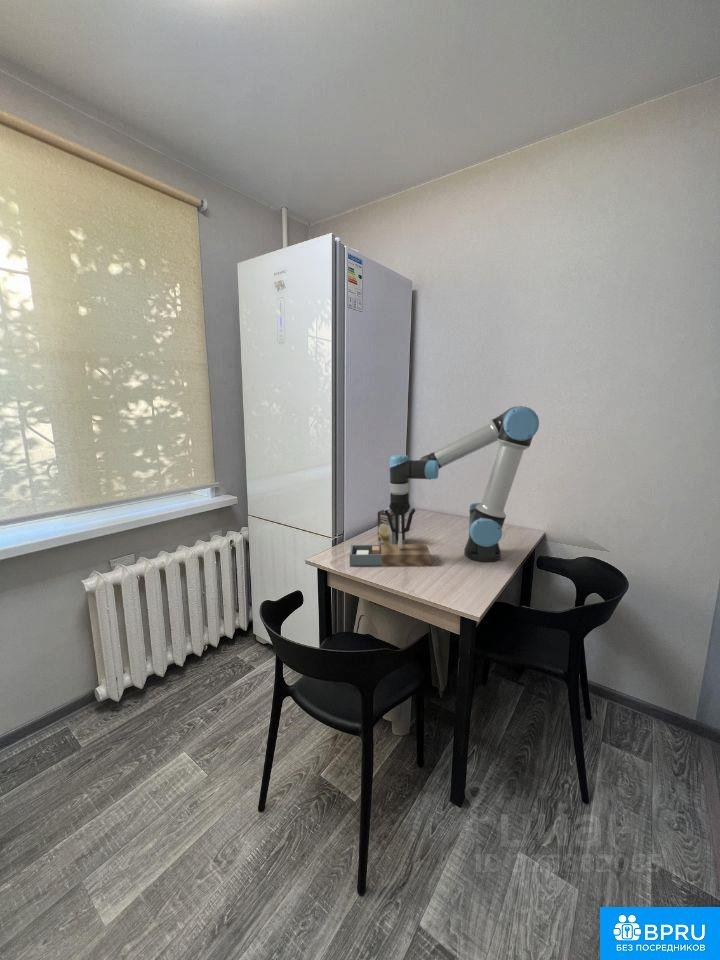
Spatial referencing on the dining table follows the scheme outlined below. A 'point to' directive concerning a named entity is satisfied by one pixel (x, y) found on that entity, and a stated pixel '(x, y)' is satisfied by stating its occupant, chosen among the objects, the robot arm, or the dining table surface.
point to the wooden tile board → (405, 555)
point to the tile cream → (362, 552)
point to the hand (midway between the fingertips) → (400, 547)
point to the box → (364, 556)
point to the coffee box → (386, 529)
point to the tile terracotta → (375, 550)
